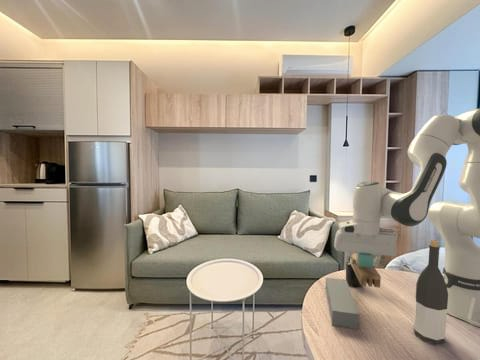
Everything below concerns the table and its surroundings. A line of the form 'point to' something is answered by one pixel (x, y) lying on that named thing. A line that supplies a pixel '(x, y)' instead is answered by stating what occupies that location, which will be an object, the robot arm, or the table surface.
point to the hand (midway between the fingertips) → (363, 264)
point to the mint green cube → (365, 260)
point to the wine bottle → (431, 301)
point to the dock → (341, 303)
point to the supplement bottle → (351, 275)
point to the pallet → (366, 274)
